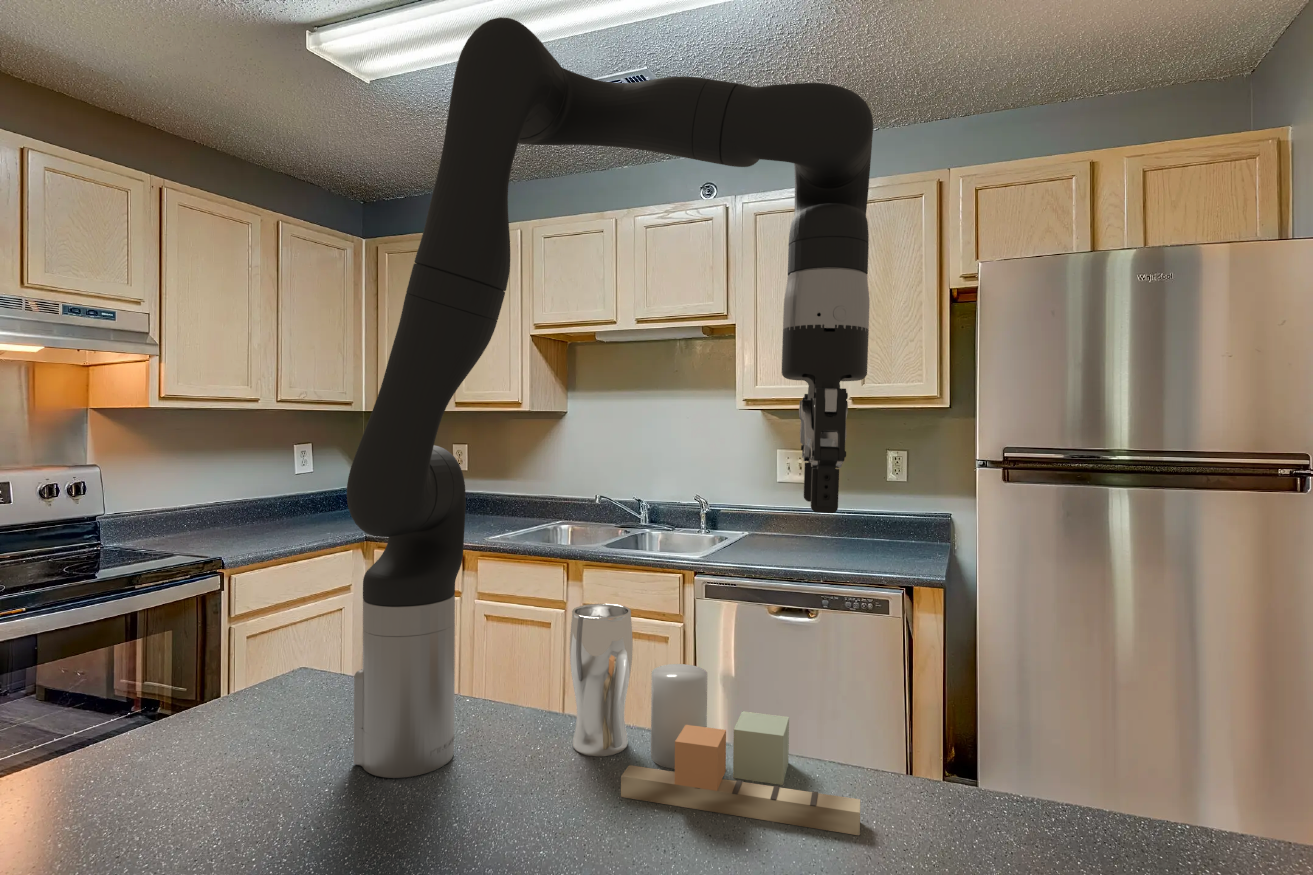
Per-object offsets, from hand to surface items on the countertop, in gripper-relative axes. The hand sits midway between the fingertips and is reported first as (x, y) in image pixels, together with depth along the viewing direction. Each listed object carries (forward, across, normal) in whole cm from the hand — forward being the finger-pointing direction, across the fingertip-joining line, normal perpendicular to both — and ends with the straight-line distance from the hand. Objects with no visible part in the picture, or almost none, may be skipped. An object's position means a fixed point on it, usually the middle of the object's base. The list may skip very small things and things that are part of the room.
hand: (819, 506), depth 67 cm
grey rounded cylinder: (+29, -11, -13) cm, 33 cm away
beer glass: (+29, -12, -22) cm, 38 cm away
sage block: (+29, -9, -4) cm, 30 cm away
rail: (+28, 0, -6) cm, 29 cm away
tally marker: (+26, -1, -10) cm, 28 cm away
